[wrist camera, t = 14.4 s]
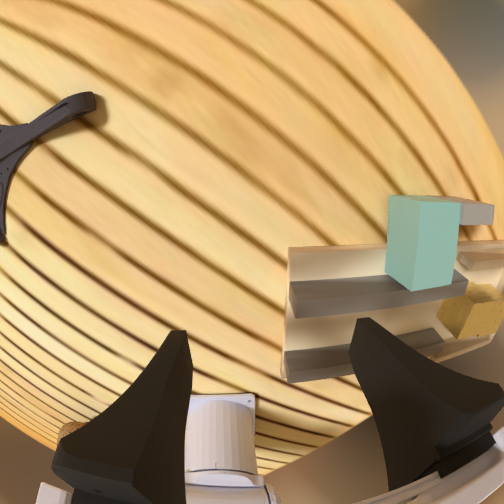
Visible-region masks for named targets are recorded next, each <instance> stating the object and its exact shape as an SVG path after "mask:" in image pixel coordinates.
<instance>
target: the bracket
mask: <svg viewBox="0 0 504 504" xmlns="http://www.w3.org/2000/svg"><path fill="white" fill-rule="evenodd" d="M93 110H96V106H95V100H94V95H93V92H82V93H78V94H74V95H71V96H69V97H66V98H65V99H63V100H61V101H60V102H59V103H57V104H56V105H55V106H53V107H52V108H50V109H49V110H47V111H46V112H44V113H43V114H42V115H40V116H39V117H37V118H36V119H35V120H33V121H32V122H30V123H29V124H28V123H26V124H20V125H15V126H7V125H0V242H1V241H3V240H4V239H5V236H4V234H5V233H6V230H5V200H6V194H7V189H8V185H9V181H10V178H11V175H12V173H13V171H14V169H15V167H16V165H17V163H18V162H19V160H20V159H21V157H22V156H23V155H24V154H25V152H26V151H27V150H28V149H29V148H30V147H31V145H32V141H34V140H35V139H37V138H39V137H41V136H42V135H44V134H46V133H48V132H50V131H52V130H53V129H55V128H57V127H59V126H61V125H63V124H65V123H67V122H69V121H71V120H73V119H76V118H78V117H80V116H82V115H84V114H86V113H89V112H91V111H93Z"/></svg>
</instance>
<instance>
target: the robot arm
mask: <svg viewBox="0 0 504 504" xmlns="http://www.w3.org/2000/svg"><path fill="white" fill-rule="evenodd" d="M348 354H349V357H350V361H351V364H352V367H353V370H354V373H355V375H356V377H357V380H358V382H359V384H360V386H361V388H362V390H363V393H364V395H365V397H366V399H367V401H368V404H369V406H370V408H371V410H372V413H373V415H374V418H375V422H376V425H377V428H378V432H379V435H380V439H381V443H382V448H383V452H384V457H385V462H386V469H387V476H388V486H389V492H388V493H385V494H382V495H379V496H377V497H373V498H370V499H367V500H364V501H361V502H357V503H354V504H402V503H405V502H407V501H409V500H411V499H412V500H411V501H410V502H408V503H406V504H479V503H480V502H482V501H483V500H484V499H485V498H487V497H488V496H489V495H490V494H491V493H493V492H494V491H495V490H496V489H497V488H499V487H500V486H501V485H502V484H503V483H504V426H503V427H502V428H500V429H499V430H498V431H496V432H495V433H494V434H493V435H491V433H490V431H491V430H492V425H491V424H490V422H491V420H493V418H494V417H495V416H496V415H497V414H498V412H499V411H500V410H501V409H502V407H503V406H504V391H503V389H502V388H501V387H500V385H499V384H497V383H492V382H487V381H483V380H478V379H475V378H472V377H469V376H465V375H463V374H460V373H458V372H455V371H453V370H450V369H448V368H446V367H444V366H442V365H440V364H438V363H436V362H434V361H432V360H430V359H429V358H427V357H425V356H424V355H422V354H420V353H419V352H417V351H416V350H414V349H413V348H411V347H410V346H408V345H407V344H405V343H404V342H403V341H401V340H400V339H398V338H397V337H396V336H394V335H393V334H392V333H390V332H389V331H388V330H386V329H385V328H384V327H382V326H381V325H380V324H378V323H377V322H376V321H374V320H373V319H371V318H370V317H365V318H358V319H357V320H356V324H355V328H354V332H353V336H352V340H351V344H350V348H349V351H348ZM192 376H193V363H192V358H191V354H190V349H189V344H188V338H187V333H186V330H182V331H171V332H170V333H169V334H168V336H167V337H166V339H165V340H164V342H163V344H162V345H161V347H160V348H159V350H158V351H157V353H156V354H155V355H154V357H153V358H152V360H151V361H150V362H149V364H148V365H147V367H146V368H145V369H144V370H143V372H142V373H141V374H140V375H139V376H138V378H137V379H136V380H135V381H134V382H133V384H132V385H131V386H130V387H129V388H128V389H127V390H126V391H125V392H124V393H123V394H122V395H121V396H120V397H119V398H118V399H117V400H116V401H115V402H114V403H113V404H112V405H110V406H109V407H108V408H107V409H106V410H105V411H103V412H102V413H101V414H99V415H98V416H97V417H95V418H94V419H93V420H91V421H90V422H88V423H87V424H85V425H84V426H82V427H81V428H79V429H77V430H75V431H74V432H72V433H70V434H68V435H66V436H64V437H62V438H61V439H60V441H59V444H58V446H57V449H56V453H55V456H54V459H53V462H52V466H51V468H52V470H53V472H54V473H55V474H56V475H57V476H58V477H60V478H61V479H62V480H64V481H65V482H66V483H68V484H69V485H70V486H72V487H73V488H74V493H73V494H71V493H69V492H67V491H65V490H62V489H59V488H57V487H54V486H52V485H49V484H47V483H44V482H42V483H41V485H40V489H39V493H38V497H37V501H36V504H281V500H280V497H279V494H278V492H277V491H276V490H275V489H274V488H273V487H272V486H271V485H270V484H264V481H263V476H258V472H257V463H256V454H255V444H254V436H255V395H254V394H252V393H247V394H224V395H191V390H192ZM185 430H186V436H185Z"/></svg>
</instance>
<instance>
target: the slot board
mask: <svg viewBox="0 0 504 504" xmlns="http://www.w3.org/2000/svg"><path fill="white" fill-rule="evenodd" d="M386 248H387V244H369V245H342V246H315V247H289V248H288V268H287V286H286V303H285V318H284V331H283V345H282V357H281V369H280V372H281V377H282V378H287V381H288V383H297V382H305V381H313V380H320V379H327V378H333V377H339V376H345V375H351V374H355V373H354V370H353V367H352V364H351V361H350V357H349V354H348V351H349V348H350V344H351V340H352V336H353V332H354V328H355V324H356V320H357V319H358V318H365V317H370V318H371V319H373V320H374V321H376V322H377V323H378V324H380V325H381V326H382V327H384V328H385V329H386V330H388V331H389V332H390V333H392V334H393V335H394V336H396V337H397V338H398V339H400V340H401V341H403V342H404V343H405V344H407V345H408V346H410V347H411V348H413V349H414V350H416V351H417V352H419V353H420V354H422V355H424V356H425V357H427V356H428V357H429V358H430V360H432V361H434V362H436V363H438V362H441V361H444V360H447V359H450V358H453V357H455V356H458V355H461V354H463V353H466V352H469V351H471V350H474V349H476V348H479V347H481V346H484V345H486V344H489V343H490V342H491V341H492V339H493V337H494V335H495V333H492V334H489V335H485V336H481V337H477V336H476V335H475V336H471V337H467V338H462V339H458V340H456V338H455V337H454V336H453V335H452V334H451V333H450V331H449V330H448V329H447V328H446V327H445V326H444V325H443V323H442V322H441V321H440V320H439V319H438V318H437V317H436V315H437V313H438V310H439V308H440V306H441V303H442V301H443V299H447V298H453V297H458V296H463V295H464V294H465V291H466V289H467V286H468V283H469V281H473V282H474V283H475V284H491V285H492V286H494V287H495V288H496V289H497V290H498V291H500V292H501V293H502V294H503V295H504V240H488V241H458V242H457V250H456V257H455V264H454V270H453V276H452V282H451V284H450V285H445V286H440V287H434V288H429V289H423V290H417V291H410V290H409V289H407V288H406V287H404V286H403V285H402V284H400V283H399V282H398V281H396V280H395V279H394V278H392V277H391V276H389V275H388V274H387V273H385V272H384V271H385V260H386Z"/></svg>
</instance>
